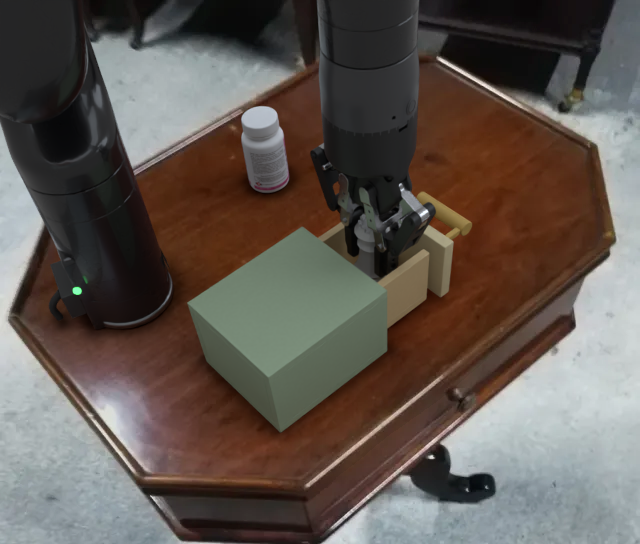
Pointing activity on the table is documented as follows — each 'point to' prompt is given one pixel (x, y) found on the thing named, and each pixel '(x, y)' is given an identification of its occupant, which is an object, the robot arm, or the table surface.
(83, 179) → the robot arm
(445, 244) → the drawer
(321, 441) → the table surface
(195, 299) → the cabinet
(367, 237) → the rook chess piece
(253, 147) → the pill bottle
